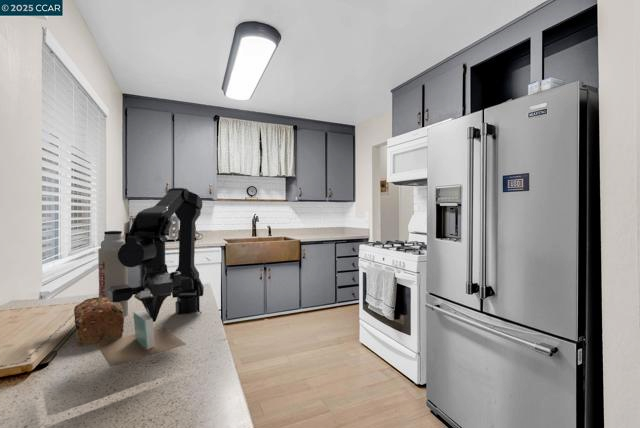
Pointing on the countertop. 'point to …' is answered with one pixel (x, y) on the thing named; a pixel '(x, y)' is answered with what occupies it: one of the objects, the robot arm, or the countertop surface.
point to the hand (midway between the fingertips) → (153, 321)
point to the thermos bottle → (112, 265)
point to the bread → (98, 320)
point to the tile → (144, 329)
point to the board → (137, 347)
